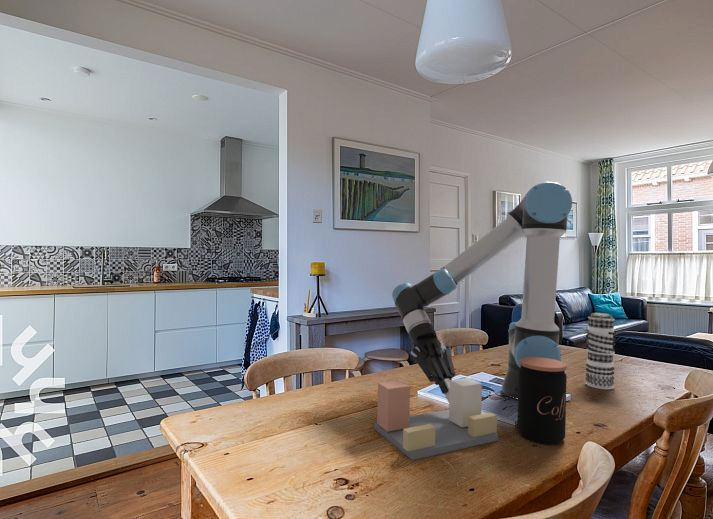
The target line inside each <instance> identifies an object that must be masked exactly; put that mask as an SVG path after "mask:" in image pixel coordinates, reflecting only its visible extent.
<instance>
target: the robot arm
mask: <svg viewBox="0 0 713 519" xmlns="http://www.w3.org/2000/svg"><path fill="white" fill-rule="evenodd" d="M572 206H573V198H572V195H571V193H570V191H569V189H568V188H567V187H565V186H564V185H563V184H560V183H559V182H554V181H544V182H540V183H538V184H535V185H534V186H532V187H531V188H530V189H529V190H528V191H527V192H526V194H525V196H524V197H523V198H522V200H521V201H520V202H519V203H518V204H517V205H516V206H515V207H514V208H513V209H512V210H511V211H510V212H508V213H506V217H505V219H504V220H503V221H502V222H500V223H499V224H498V225H496V226H495V227H494V228H492V229H491V230H490V231H489V232H487V233H486V234H485V235H483V236H482V237H480V238H479V239H478V240H477V241H475V242H474V243H473V244H472V245H470V246H469V247H468V248H466V249H465V250H464V251H462V252H461V253H459V255H457V256H456V257H454V258H453V259H452V260H451V261H450V262H448V263H447V264H445V265H444V266H442V267H441V268H440V269H438V270H437V271H435V272H433V274H431V275H429V276H427V277H426V278H424V279H423V280H421V281H420V282H418V283H416V284H414V285H413V284H411V283H409V282H405V283H400V284H399V285H396V286H395V287H394V289H393V290H392V292H391V293H392V294H391V296H392V300H393V302H394V305H395V307H396V309H397V312H398V313H399V316H400V318H401V320H402V323H403V324H404V327H405V330H406V332H407V334H408V336H409V339H410V341H411V343H412V344H413V349H412V350H411V351H410V353H409V356H410V357H412V358H413V359H414V360H415V362H416V363H417V365H418V366H419V368H420V369H421V370H422V373H423V374H424V375H425V376H426V378H427V379H428V381H429V382H430V383H434V385H436V386H438V387H439V389H440V391H441V393H442V394H443V395H444V396H445V398H446V400H447V402H448V403H449V392H450V380H453V378H454V377H455V376H456V375H457V374H456V371H455V367H454V364H453V360H452V354H451V346H450V345H448V344H447V345H444V344H442V343H441V341H440V340H439V339H438V337H437V336H438V335H437V331H436V330H435V328H434V325H433V323H432V322H431V319H430V318H429V316H428V314H427V312H426V310H425V308H426V307H429V305H432V304H433V303H435V302H436V301H438V300H440V299H442V298H444V297H446V296H447V295H450V294H451V293H452V292H454V291H455V290H456V289H457V287H458V285H459V284H461V283H462V282H463V281H464V280H466V279H467V278H468V277H470V276H471V275H473V274H474V273H475V272H476V271H478V270H479V269H481V268H482V267H483V266H485V265H486V264H487V263H489V262H490V261H492V259H494V258H496V257H497V256H499V255H500V254H501V253H503V251H505V250H506V249H508V248H509V247H511V246H512V245H513V244H514V243H516V242H517V241H519V240H520V239H521V238H526V243H525V257H524V258H525V260H524V273H523V288H522V290H523V291H522V303H521V315H520V316H521V318H520V319H519V320H518V321H514V322H511V323H510V324H509V325H508V326H509V327H508V357H507V358H508V362H507V363H508V364H507V371H506V372H505V376H504V379H503V381H502V385H501V392H502V394H503V393H504V394H503V395H505V394H506V395H508V396H511V397H514V398H518V372H519V368H520V367H521V365H520V364H519V359H520V358H523V357H542V358H549V359H554V360H558V361H561V362H562V350H561V347H560V346H559V345H560V344H559V343H560V328H559V326H558V325H557V324H556V323H555V315H556V314H555V312H556V298H557V286H558V285H557V284H558V283H557V282H558V270H559V258H560V257H559V256H560V254H559V253H560V242H561V237H562V236H563V235H565V233H567V228H568V216H569V214H570V213H571V211H572ZM506 395H505V396H506ZM508 396H507V397H508ZM511 397H510V398H511ZM514 398H513V399H514Z"/></svg>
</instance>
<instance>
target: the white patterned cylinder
mask: <svg viewBox="0 0 713 519" xmlns="http://www.w3.org/2000/svg"><path fill="white" fill-rule="evenodd" d="M587 318H588V322H587V323H588V324H587V329H586V330H585V338H587V339H586V340H585V343H586V345H585V348H586V350H585V351H586V352H587V359H586V363H585V367H586V368H585V370H586V371H587V372H585V376H586V377H585V380H586V381H585V385H586V384H587V385H586V386H588V387H590V388H595V389H599V390H614V388H615V387H614V384H615V382H614V380H615V376H614V375H615V372H614V371H615V367H614V355H615V351H616V349H615V348H614V346H616V343H615V341H617V339H616V338H615V337H614V336H616V335H617V333H616V332H615V327H614V326H615V325H614V324H615V323H614V321H615V320H616V319H615V318H613V316H612V315H611V314H609V313H601V312H592V313H591V314H590V316H587Z"/></svg>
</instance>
